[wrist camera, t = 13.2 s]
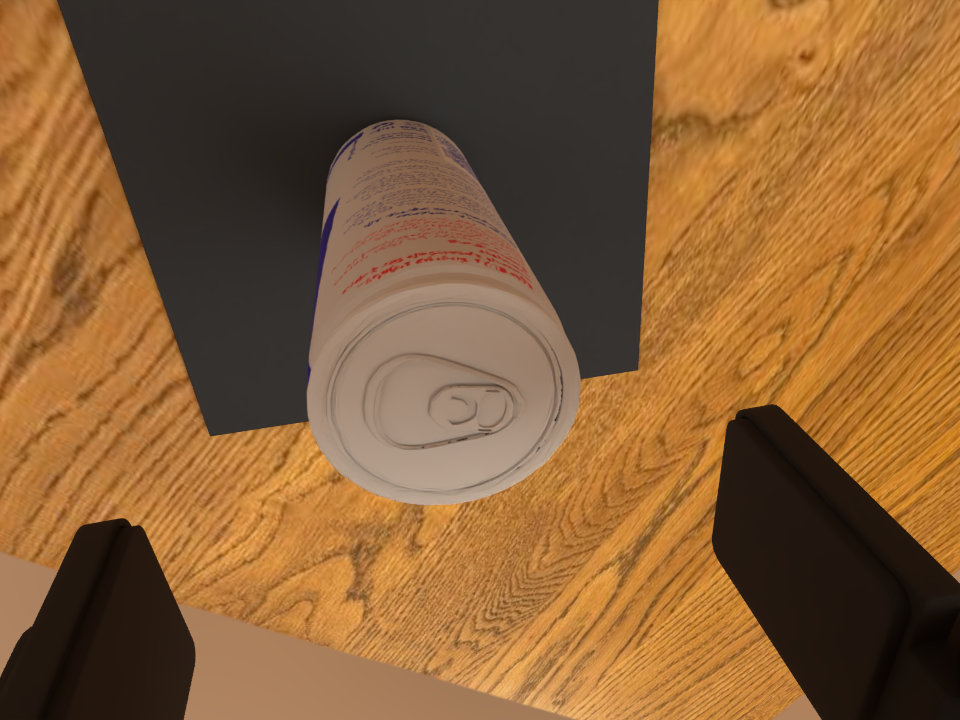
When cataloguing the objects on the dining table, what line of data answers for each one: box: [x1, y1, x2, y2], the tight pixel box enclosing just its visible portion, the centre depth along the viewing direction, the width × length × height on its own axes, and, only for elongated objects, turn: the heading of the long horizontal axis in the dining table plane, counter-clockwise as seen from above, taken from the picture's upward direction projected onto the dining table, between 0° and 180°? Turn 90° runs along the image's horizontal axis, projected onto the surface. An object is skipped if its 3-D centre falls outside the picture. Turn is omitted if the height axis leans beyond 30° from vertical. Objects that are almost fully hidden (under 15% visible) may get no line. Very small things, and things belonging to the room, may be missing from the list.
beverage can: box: [307, 120, 581, 505], centre depth 20 cm, size 6×6×15 cm
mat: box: [57, 0, 659, 436], centre depth 26 cm, size 20×20×1 cm
